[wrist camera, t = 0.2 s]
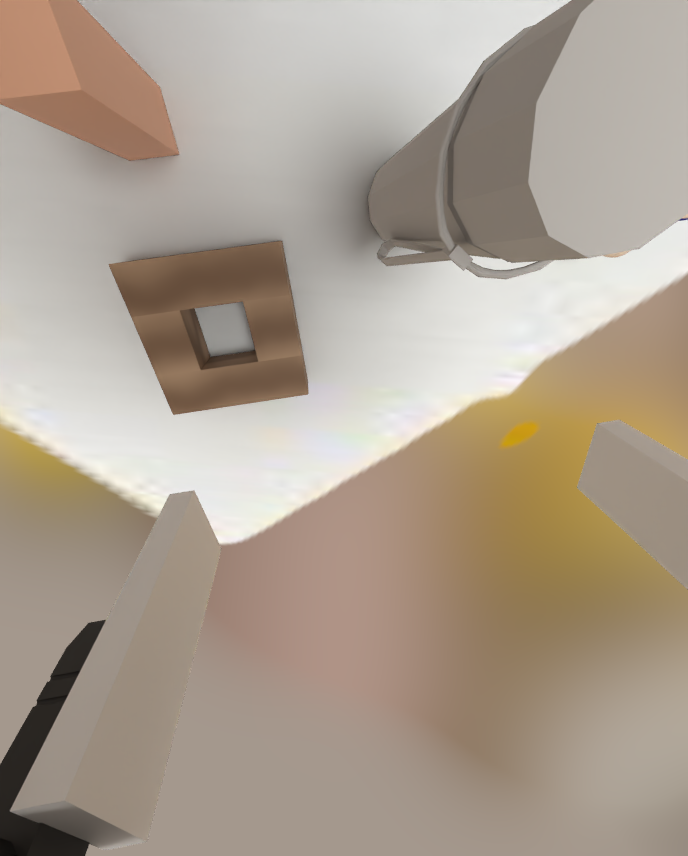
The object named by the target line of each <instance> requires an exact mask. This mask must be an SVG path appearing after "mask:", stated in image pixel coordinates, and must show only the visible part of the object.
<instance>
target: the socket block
mask: <svg viewBox="0 0 688 856" xmlns="http://www.w3.org/2000/svg"><path fill="white" fill-rule="evenodd" d="M109 267H110V269H111V271H112V273H113V276H114V278H115V280H116V283H117V285H118V287H119V290H120V292H121V294H122V297H123V299H124V301H125V304H126V306H127V308H128V311H129V313H130V315H131V318H132V320H133V322H134V325H135V327H136V329H137V332H138V334H139V336H140V339H141V341H142V343H143V346H144V348H145V350H146V353H147V355H148V357H149V360H150V362H151V364H152V367H153V369H154V371H155V374H156V376H157V378H158V381H159V383H160V385H161V388H162V390H163V392H164V394H165V397H166V399H167V401H168V404H169V406H170V408H171V411H172V413H173V415H175V414H182V413H189V412H195V411H202V410H208V409H215V408H221V407H228V406H235V405H241V404H248V403H254V402H261V401H268V400H274V399H281V398H287V397H294V396H300V395H307V394H308V379H307V373H306V368H305V362H304V357H303V351H302V346H301V340H300V335H299V329H298V324H297V319H296V313H295V308H294V302H293V297H292V291H291V286H290V280H289V275H288V269H287V264H286V259H285V253H284V248H283V242H282V241H276V242H269V243H262V244H254V245H247V246H239V247H232V248H224V249H217V250H209V251H202V252H195V253H187V254H180V255H172V256H165V257H157V258H150V259H142V260H135V261H128V262H121V263H114V264H109ZM236 302H243V304H244V308H245V312H246V316H247V320H248V323H249V327H250V331H251V335H252V339H253V343H254V347H255V351H250V352H243V353H236V354H229V355H222V356H216V357H210V355H209V352H208V349H207V346H206V343H205V340H204V336H203V333H202V330H201V327H200V324H199V321H198V318H197V315H196V312H195V309H194V308H200V307H207V306H215V305H222V304H229V303H236Z"/></svg>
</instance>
